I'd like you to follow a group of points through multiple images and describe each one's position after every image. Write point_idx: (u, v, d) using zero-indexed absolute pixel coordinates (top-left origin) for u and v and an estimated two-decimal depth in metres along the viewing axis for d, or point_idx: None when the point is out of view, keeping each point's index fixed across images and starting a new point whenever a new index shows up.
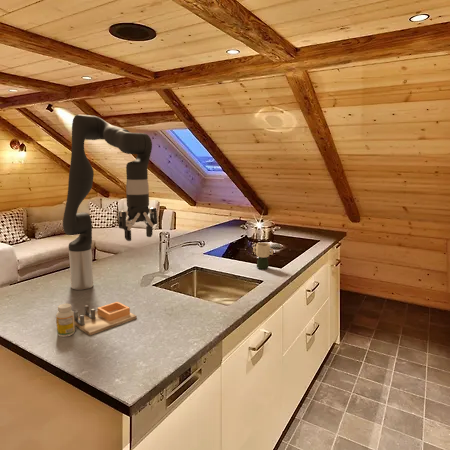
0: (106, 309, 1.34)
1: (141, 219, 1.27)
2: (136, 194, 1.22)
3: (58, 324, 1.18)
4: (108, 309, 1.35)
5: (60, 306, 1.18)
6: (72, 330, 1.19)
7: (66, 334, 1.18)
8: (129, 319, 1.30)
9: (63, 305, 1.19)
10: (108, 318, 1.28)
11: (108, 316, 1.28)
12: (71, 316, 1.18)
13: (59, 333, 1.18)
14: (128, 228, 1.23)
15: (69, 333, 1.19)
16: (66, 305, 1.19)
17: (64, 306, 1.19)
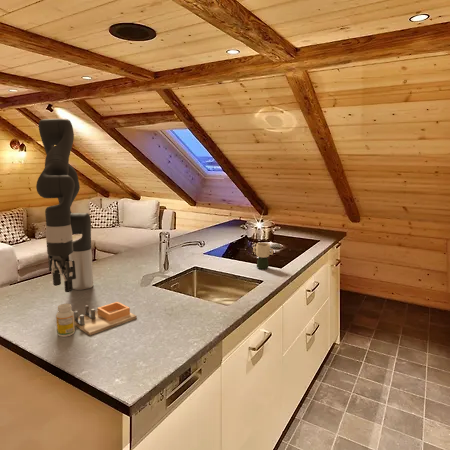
0: (106, 309, 1.34)
1: None
2: (72, 239, 1.15)
3: (58, 324, 1.18)
4: (108, 309, 1.35)
5: (60, 306, 1.18)
6: (72, 330, 1.19)
7: (66, 334, 1.18)
8: (129, 319, 1.30)
9: (63, 305, 1.19)
10: (108, 318, 1.28)
11: (108, 316, 1.28)
12: (71, 316, 1.18)
13: (59, 333, 1.18)
14: None
15: (69, 333, 1.19)
16: (66, 305, 1.19)
17: (64, 306, 1.19)
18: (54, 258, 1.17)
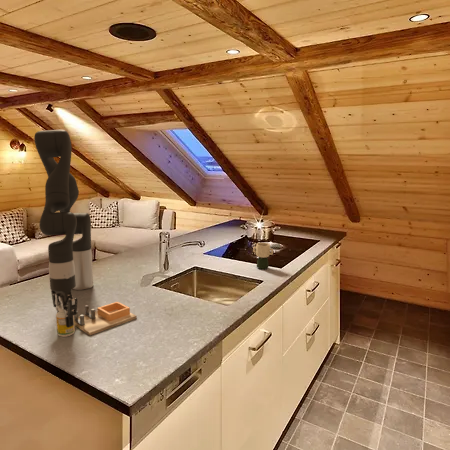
0: (106, 309, 1.34)
1: None
2: (74, 274, 1.17)
3: (58, 324, 1.18)
4: (108, 309, 1.35)
5: (60, 306, 1.18)
6: (72, 330, 1.19)
7: (66, 334, 1.18)
8: (129, 319, 1.30)
9: None
10: (108, 318, 1.28)
11: (108, 316, 1.28)
12: None
13: (59, 333, 1.18)
14: None
15: (69, 333, 1.19)
16: (66, 305, 1.19)
17: None
18: (57, 292, 1.19)
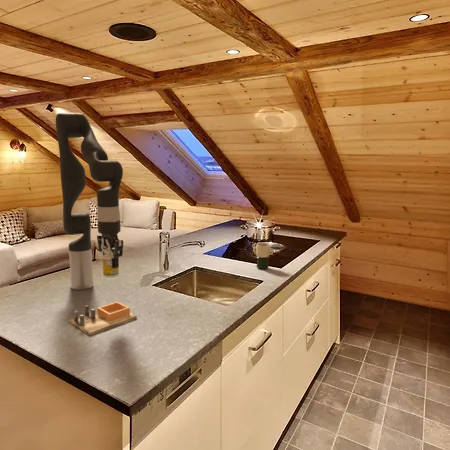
0: (106, 309, 1.34)
1: None
2: (119, 219, 1.27)
3: (104, 265, 1.27)
4: (108, 309, 1.35)
5: (106, 249, 1.28)
6: (117, 272, 1.29)
7: (112, 275, 1.28)
8: (129, 319, 1.30)
9: None
10: (108, 318, 1.28)
11: (108, 316, 1.28)
12: None
13: (105, 274, 1.28)
14: None
15: (114, 274, 1.28)
16: None
17: None
18: (103, 237, 1.29)
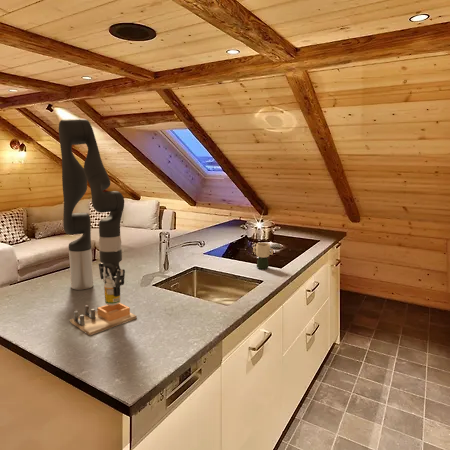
0: (106, 309, 1.34)
1: None
2: (121, 248, 1.29)
3: (106, 294, 1.29)
4: (108, 309, 1.35)
5: (108, 277, 1.30)
6: (118, 300, 1.31)
7: (113, 303, 1.30)
8: (129, 319, 1.30)
9: None
10: (108, 318, 1.28)
11: (108, 316, 1.28)
12: None
13: (107, 302, 1.30)
14: None
15: (116, 302, 1.30)
16: None
17: None
18: (105, 265, 1.31)
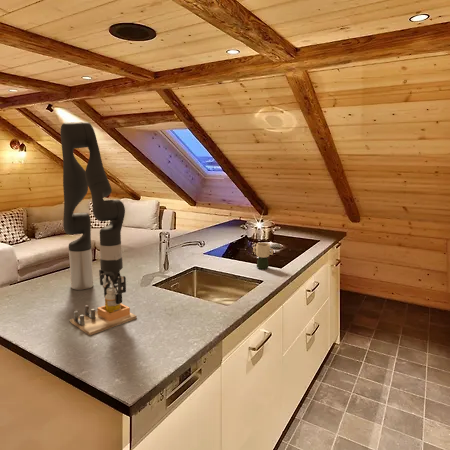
0: None
1: None
2: None
3: (107, 305, 1.30)
4: None
5: (108, 289, 1.31)
6: None
7: None
8: (129, 319, 1.30)
9: (111, 288, 1.32)
10: (108, 318, 1.28)
11: (108, 316, 1.28)
12: None
13: None
14: None
15: None
16: None
17: (112, 289, 1.31)
18: (105, 273, 1.31)
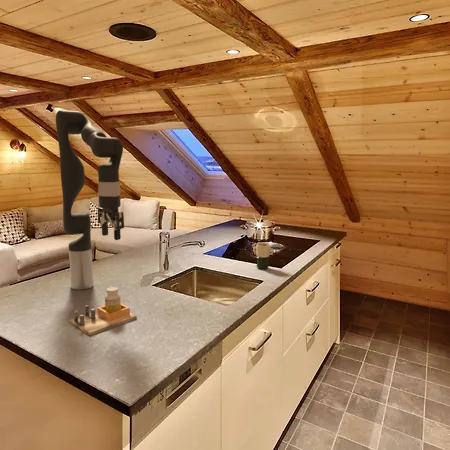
0: None
1: None
2: None
3: (107, 305, 1.30)
4: None
5: (108, 289, 1.31)
6: None
7: None
8: (129, 319, 1.30)
9: (111, 288, 1.32)
10: (108, 318, 1.28)
11: (108, 316, 1.28)
12: (118, 298, 1.31)
13: None
14: None
15: None
16: (113, 288, 1.32)
17: (112, 289, 1.31)
18: (104, 211, 1.34)
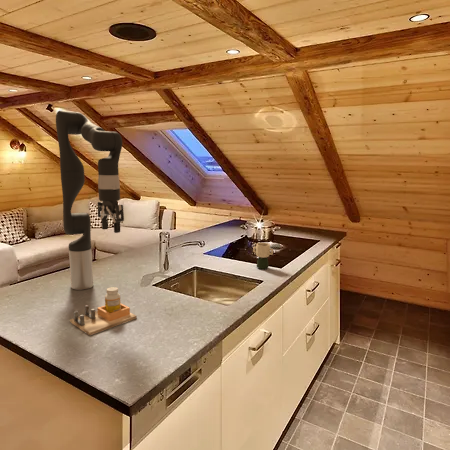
0: None
1: None
2: (119, 188, 1.34)
3: (107, 305, 1.30)
4: None
5: (108, 289, 1.31)
6: None
7: None
8: (129, 319, 1.30)
9: (111, 288, 1.32)
10: (108, 318, 1.28)
11: (108, 316, 1.28)
12: (118, 298, 1.31)
13: None
14: None
15: None
16: (113, 288, 1.32)
17: (112, 289, 1.31)
18: (104, 205, 1.36)
